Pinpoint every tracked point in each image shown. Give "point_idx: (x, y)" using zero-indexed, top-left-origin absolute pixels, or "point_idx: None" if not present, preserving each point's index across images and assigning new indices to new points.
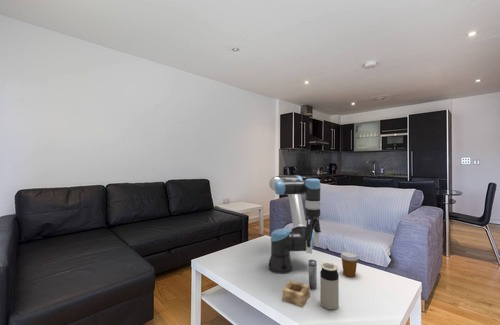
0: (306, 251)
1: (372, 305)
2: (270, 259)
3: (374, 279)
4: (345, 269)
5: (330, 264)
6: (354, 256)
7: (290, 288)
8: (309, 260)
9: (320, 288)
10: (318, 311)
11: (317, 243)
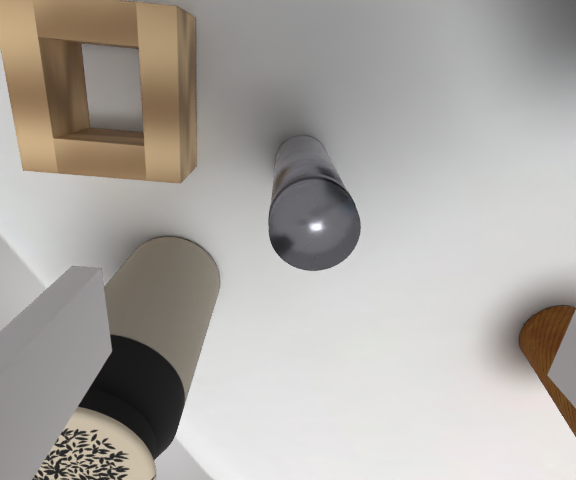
0: (58, 283)
1: (273, 426)
2: None
3: (524, 433)
4: (552, 345)
5: (114, 477)
6: None
7: (82, 41)
8: (320, 193)
9: (126, 277)
10: (82, 239)
11: (574, 373)
